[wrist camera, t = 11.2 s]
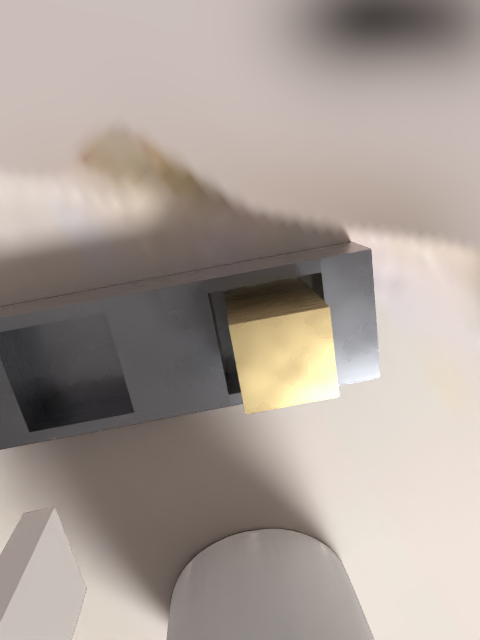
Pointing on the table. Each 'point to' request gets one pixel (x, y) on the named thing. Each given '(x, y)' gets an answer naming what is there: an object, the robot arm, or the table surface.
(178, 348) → the grey slotted tray
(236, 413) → the table surface
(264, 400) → the block
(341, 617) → the utensil holder
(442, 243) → the table surface
